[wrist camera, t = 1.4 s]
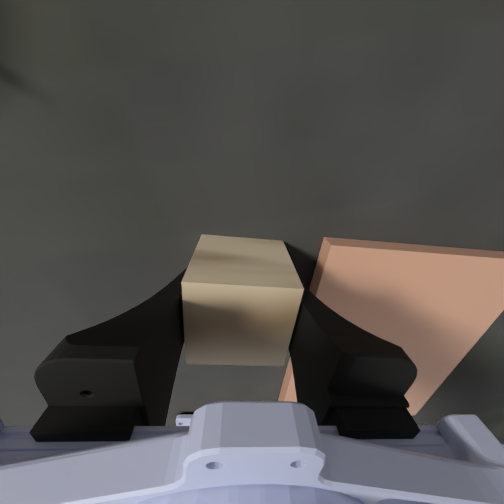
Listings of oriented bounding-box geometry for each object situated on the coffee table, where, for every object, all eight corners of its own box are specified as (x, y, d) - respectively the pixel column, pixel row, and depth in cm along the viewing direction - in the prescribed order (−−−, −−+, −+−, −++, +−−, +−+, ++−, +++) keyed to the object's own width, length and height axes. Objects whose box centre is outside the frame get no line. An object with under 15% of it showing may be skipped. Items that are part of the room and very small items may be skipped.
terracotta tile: (406, 402, 22) (414, 415, 21) (277, 401, 21) (279, 414, 20) (521, 253, 14) (544, 261, 13) (323, 236, 13) (331, 245, 12)
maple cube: (271, 302, 15) (283, 366, 11) (202, 298, 15) (185, 363, 11) (282, 240, 13) (304, 288, 9) (202, 234, 13) (181, 282, 8)
